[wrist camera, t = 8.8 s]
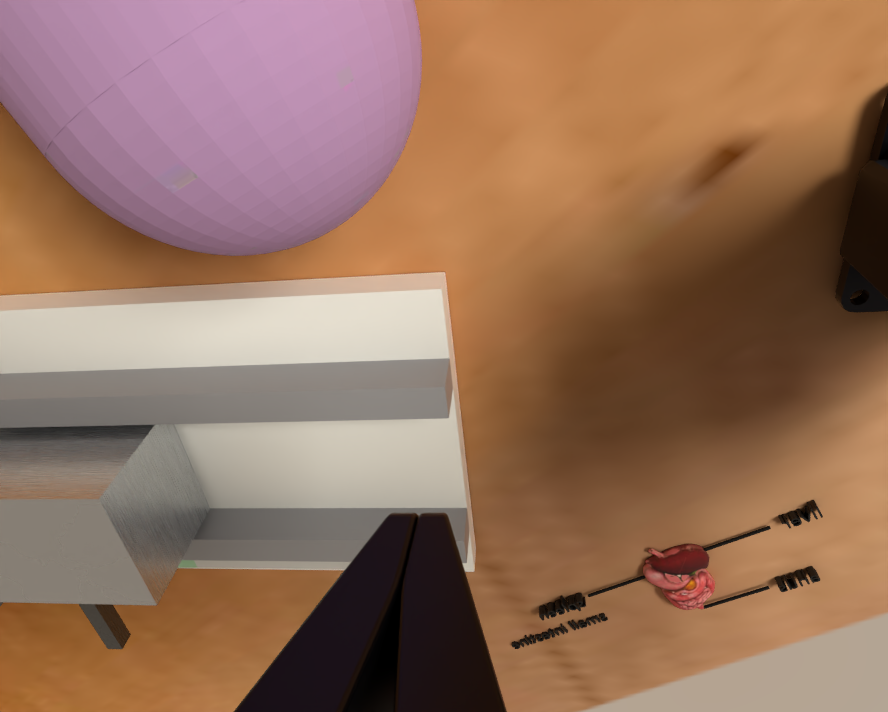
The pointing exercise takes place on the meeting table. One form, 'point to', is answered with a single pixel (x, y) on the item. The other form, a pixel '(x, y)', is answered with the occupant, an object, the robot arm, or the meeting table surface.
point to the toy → (216, 110)
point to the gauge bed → (263, 402)
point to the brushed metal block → (95, 517)
